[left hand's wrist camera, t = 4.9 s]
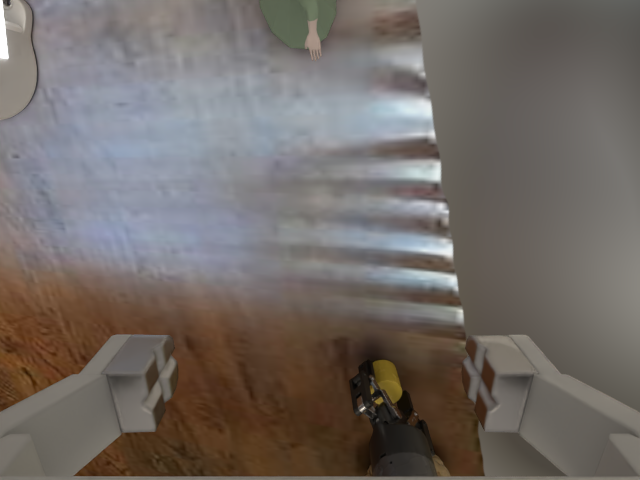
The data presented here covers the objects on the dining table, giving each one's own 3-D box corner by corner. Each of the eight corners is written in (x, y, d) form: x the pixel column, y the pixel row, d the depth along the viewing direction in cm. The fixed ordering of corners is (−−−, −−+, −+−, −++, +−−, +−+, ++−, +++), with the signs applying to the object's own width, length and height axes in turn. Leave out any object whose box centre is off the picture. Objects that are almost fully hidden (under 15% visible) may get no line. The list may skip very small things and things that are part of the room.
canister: (360, 370, 61) (363, 392, 57) (383, 354, 60) (388, 375, 56) (379, 387, 63) (384, 410, 58) (402, 372, 62) (408, 393, 57)
